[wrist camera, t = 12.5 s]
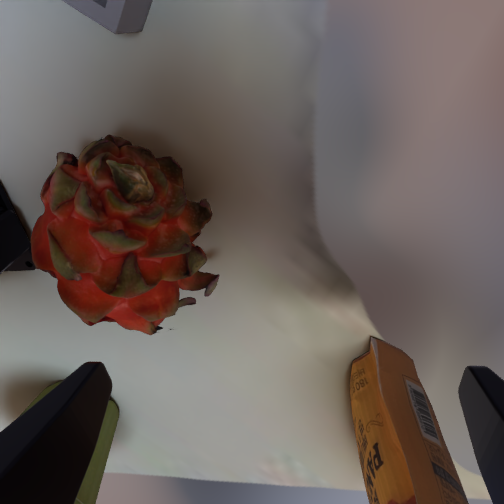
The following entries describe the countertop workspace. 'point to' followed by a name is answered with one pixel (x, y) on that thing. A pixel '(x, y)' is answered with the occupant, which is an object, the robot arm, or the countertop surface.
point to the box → (115, 13)
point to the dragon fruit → (121, 235)
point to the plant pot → (98, 462)
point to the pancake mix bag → (399, 432)
